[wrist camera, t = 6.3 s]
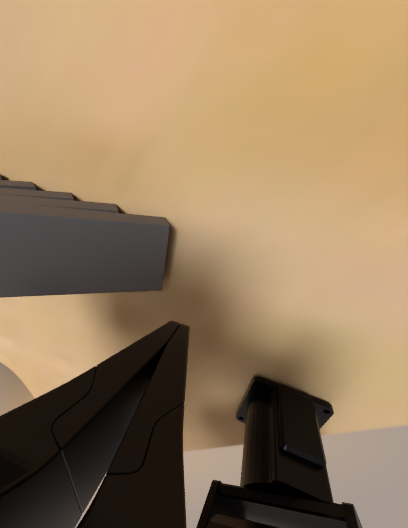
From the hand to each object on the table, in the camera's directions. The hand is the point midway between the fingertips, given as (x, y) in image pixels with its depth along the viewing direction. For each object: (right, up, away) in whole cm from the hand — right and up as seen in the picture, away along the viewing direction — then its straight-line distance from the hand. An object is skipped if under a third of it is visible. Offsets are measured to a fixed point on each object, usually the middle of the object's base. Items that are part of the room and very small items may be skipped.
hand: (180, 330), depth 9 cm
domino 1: (-2, +4, +6) cm, 7 cm away
